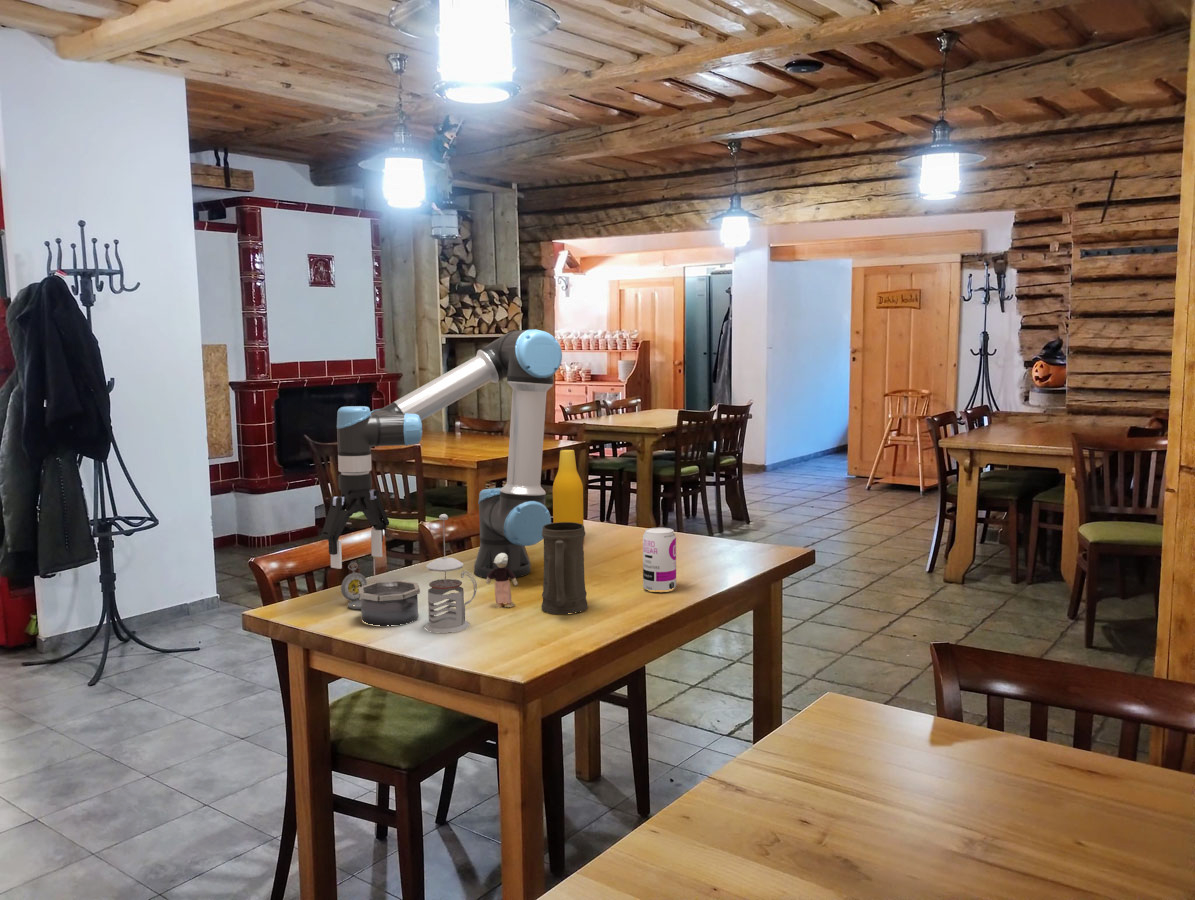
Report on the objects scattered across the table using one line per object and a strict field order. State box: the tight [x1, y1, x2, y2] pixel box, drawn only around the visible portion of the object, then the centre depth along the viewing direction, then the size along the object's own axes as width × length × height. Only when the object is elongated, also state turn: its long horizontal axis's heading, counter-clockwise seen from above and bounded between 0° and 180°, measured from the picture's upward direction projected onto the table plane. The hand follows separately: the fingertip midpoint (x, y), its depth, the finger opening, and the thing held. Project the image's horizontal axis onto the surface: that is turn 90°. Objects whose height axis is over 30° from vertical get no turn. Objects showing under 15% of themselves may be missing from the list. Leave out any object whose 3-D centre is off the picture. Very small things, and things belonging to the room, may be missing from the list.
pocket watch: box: [340, 562, 368, 610], centre depth 226 cm, size 8×8×10 cm
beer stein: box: [541, 522, 589, 615], centre depth 218 cm, size 15×11×20 cm
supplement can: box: [642, 527, 677, 591], centre depth 236 cm, size 8×8×15 cm
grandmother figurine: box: [485, 553, 519, 608], centre depth 224 cm, size 8×4×13 cm, turn 91°
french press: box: [424, 513, 478, 634], centre depth 208 cm, size 10×12×25 cm
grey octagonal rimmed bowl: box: [358, 579, 421, 627], centre depth 215 cm, size 13×13×7 cm
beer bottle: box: [552, 449, 585, 545], centre depth 287 cm, size 9×9×29 cm
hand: (357, 562), depth 225 cm, fingers open, 13 cm apart
